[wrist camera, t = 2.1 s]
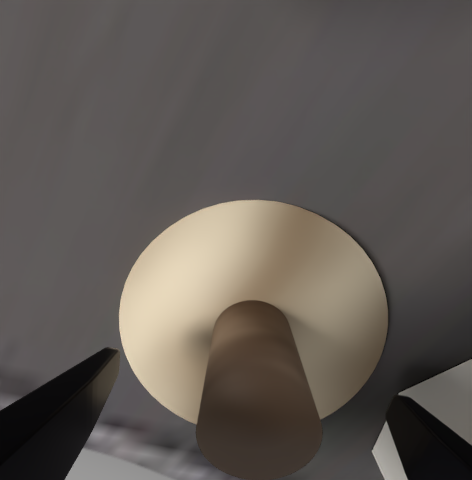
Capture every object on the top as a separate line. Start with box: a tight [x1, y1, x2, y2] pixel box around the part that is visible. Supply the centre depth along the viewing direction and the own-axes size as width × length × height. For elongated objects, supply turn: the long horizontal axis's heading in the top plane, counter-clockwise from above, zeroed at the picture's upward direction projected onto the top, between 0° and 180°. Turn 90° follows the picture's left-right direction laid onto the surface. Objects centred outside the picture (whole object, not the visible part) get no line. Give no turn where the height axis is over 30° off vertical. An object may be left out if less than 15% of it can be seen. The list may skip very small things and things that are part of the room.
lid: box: [119, 200, 388, 480], centre depth 8 cm, size 11×11×5 cm
